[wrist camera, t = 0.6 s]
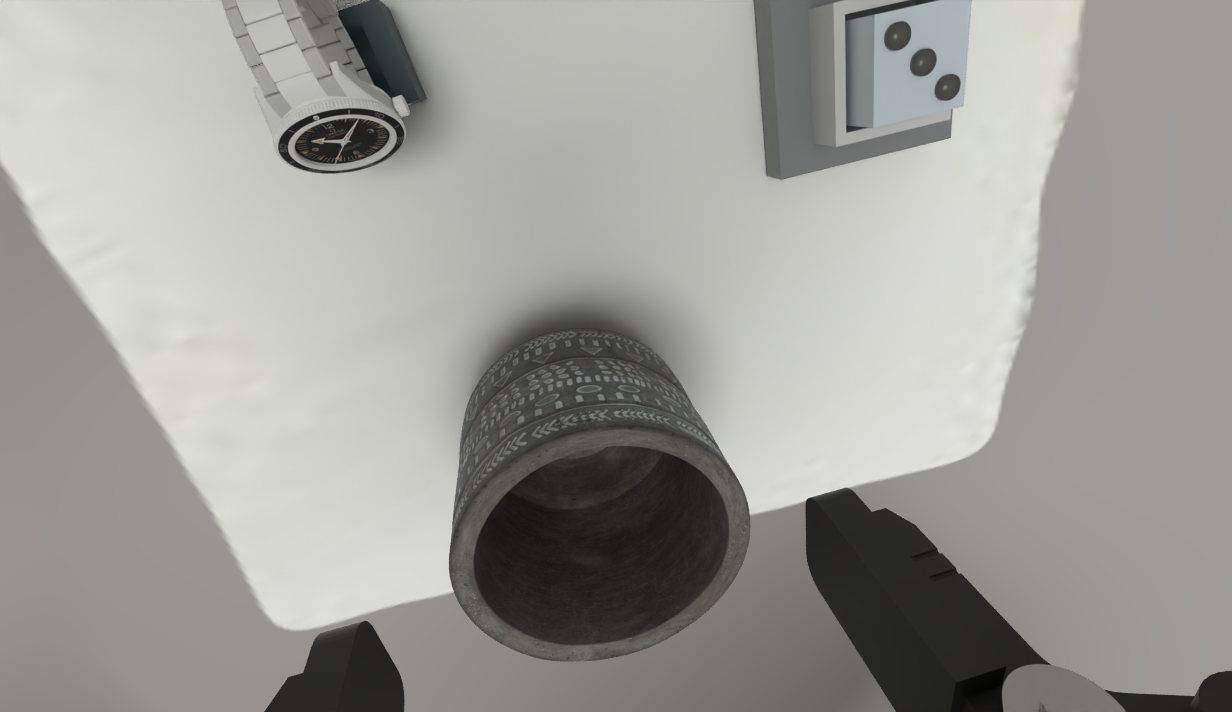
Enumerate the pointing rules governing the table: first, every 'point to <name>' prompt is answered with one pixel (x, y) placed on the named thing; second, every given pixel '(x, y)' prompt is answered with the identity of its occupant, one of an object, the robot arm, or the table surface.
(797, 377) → the table surface
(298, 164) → the watch
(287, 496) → the table surface
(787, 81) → the keypad
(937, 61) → the button three
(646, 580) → the planter
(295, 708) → the robot arm
